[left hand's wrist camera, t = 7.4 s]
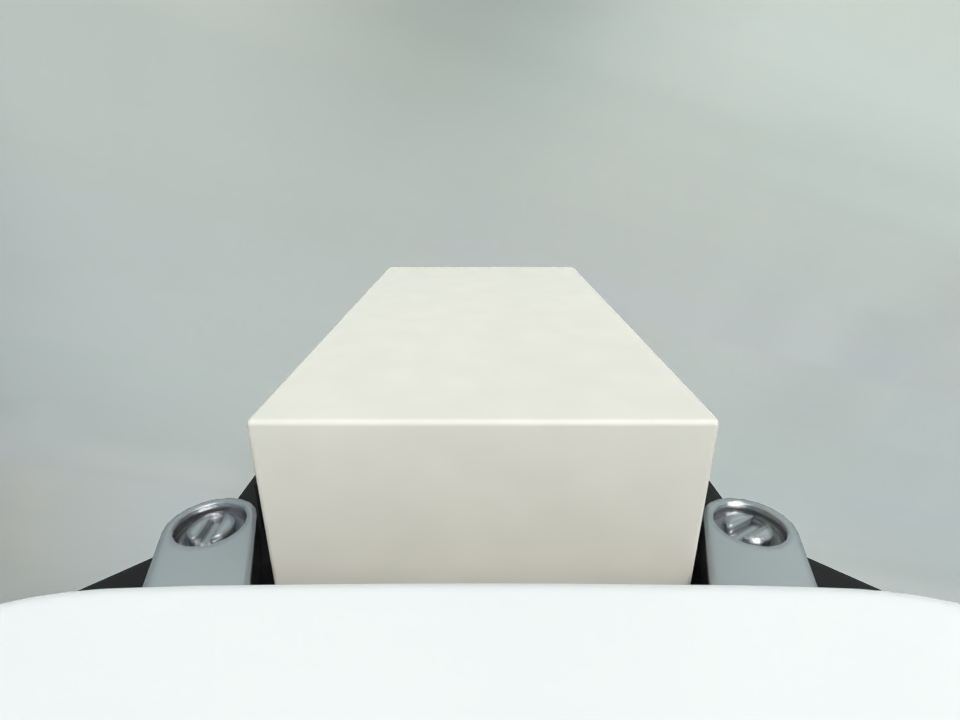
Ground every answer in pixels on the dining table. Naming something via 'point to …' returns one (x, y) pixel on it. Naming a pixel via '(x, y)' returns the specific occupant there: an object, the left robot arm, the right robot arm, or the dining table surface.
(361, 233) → the dining table surface
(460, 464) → the brick
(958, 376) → the dining table surface
